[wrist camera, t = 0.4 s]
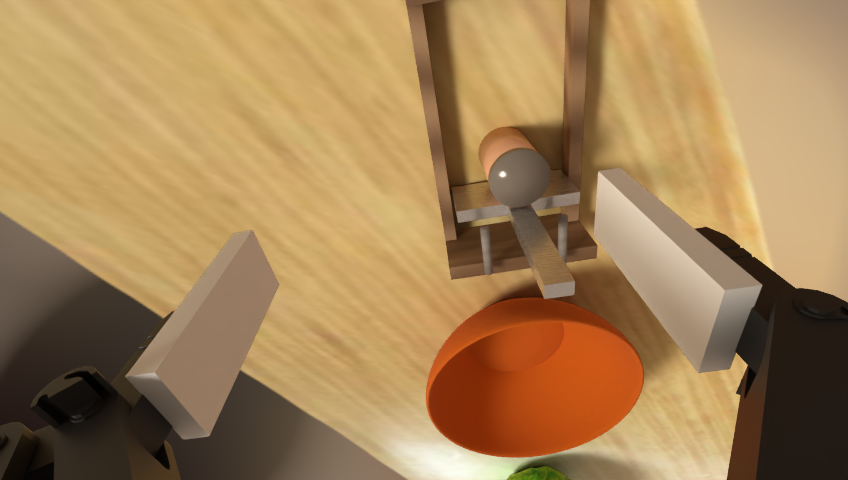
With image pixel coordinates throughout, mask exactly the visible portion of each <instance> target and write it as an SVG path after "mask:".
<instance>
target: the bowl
mask: <svg viewBox="0 0 848 480" xmlns="http://www.w3.org/2000/svg"><path fill="white" fill-rule="evenodd" d="M643 383H644V371H643V365H642V362H641V359H640V357H639V355H638V353H637V351H636V350H635V348H634V347H633V345H632V344H631V343H630V342H629V341H628V339H627V338H626V337H625V336H624V335H623V334H622V333H621V332H620V331H618V330H617V329H616V328H615V327H614V326H612V325H611V324H610V323H608V322H607V321H606V320H604V319H602V318H601V317H599V316H598V315H596V314H594V313H592V312H590V311H588V310H586V309H584V308H581V307H579V306H576V305H573V304H570V303H567V302H563V301H559V300H553V299H544V298H514V299H508V300H504V301H500V302H497V303H495V304H493V305H490V306H488V307H487V308H484V309H483V310H481V311H479V312H477V313H476V314H474V315H473V316H471V317H470V318H468V319H467V320H466V321H465V322H463V323H462V324H461V325H460V326H459V327H458V328H457V329H456V330H455V331H454V332H453V333H452V334H451V335H450V337H449V338H448V339H447V340H446V342H445V343H444V345H443V346H442V348H441V349H440V351H439V353H438V355H437V357H436V358H435V361H434V363H433V366H432V368H431V371H430V374H429V378H428V382H427V389H426V405H427V410H428V413H429V416H430V418H431V420H432V422H433V424H434V425H435V427H436V428H437V429H438V430H439V431H440V432H441V433H442V434H443V435H444V436H445V437H446V438H448V439H449V440H450V441H452V442H454V443H455V444H457V445H459V446H461V447H463V448H466V449H468V450H471V451H474V452H477V453H481V454H486V455H491V456H498V457H533V456H541V455H547V454H552V453H557V452H561V451H564V450H568V449H571V448H574V447H577V446H579V445H582V444H584V443H587V442H589V441H591V440H593V439H595V438H597V437H598V436H600V435H602V434H604V433H605V432H607V431H608V430H610V429H611V428H612V427H614V426H615V425H616V424H618V423H619V422H620V421H621V420H622V419H623V418H624V417H625V416H626V415H627V414H628V413H629V412H630V410H631V409H632V408H633V406H634V405H635V403H636V402H637V400H638V398H639V396H640V393H641V391H642V387H643Z"/></svg>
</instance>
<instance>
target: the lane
mask: <svg viewBox="0 0 848 480" xmlns="http://www.w3.org/2000/svg"><path fill="white" fill-rule="evenodd" d="M436 1H441V0H406V5H407V10H408V16H409V22H410V28H411V34H412V40H413V46H414V52H415V58H416V64H417V70H418V76H419V82H420V88H421V94H422V100H423V106H424V112H425V118H426V124H427V130H428V136H429V142H430V148H431V154H432V161H433V167H434V173H435V179H436V185H437V191H438V197H439V203H440V209H441V215H442V221H443V227H444V233H445V239H446V246H447V253H448V261H449V268H450V274H451V280H453V279H460V278H466V277H473V276H480V275H491V274H493V273H500V272H507V271H513V270H520V269H527V268H531V267H530V265H529V263H528V261H527V258H526V256H525V254H524V251H523V249H522V247H521V245H520V242H519V240H518V238H517V235H516V233H515V231H514V229H513V226H512V224H511V222H510V221H509V222H503V223H496V224H490V225H484V226H477V227H471V228H465V229H458V230H455V225H454V218H453V211H452V204H451V198H450V191H449V184H448V177H447V170H446V164H445V157H444V150H443V143H442V137H441V130H440V123H439V116H438V109H437V103H436V96H435V89H434V82H433V76H432V69H431V62H430V55H429V48H428V42H427V35H426V28H425V21H424V14H423V8H422V4H426V3H431V2H436ZM589 10H590V0H566V31H565V73H564V114H563V155H562V172H563V173H564V174H565V175H566V176H567V177H568V179H569V180H570V181H571V182H572V183H573V184H574V185H575V187H576V188H577V189H578V190H579V191H580V182H581V163H582V143H583V124H584V105H585V86H586V67H587V48H588V29H589ZM538 218H539V219H540V221H541V223H542V225H543V226H544V228H545V230H546V231H547V233H548V235H549V237H550V238H551V240H552V242H553V244H554V245H555V247H556V249H557V251H558V252H559V254H560V256H561V257H562V259H563V261H564V263H567V262H574V261H581V260H587V259H594V258H596V257H597V244H596V243H595V242H594V240H593V239H592V238H591V236H590V235H589V234H588V232H587V231H586V230H585V228H584V227H583V226H582V224H581V223H580V222H579V204H573V205H567V206H561V213H560V214H553V215H547V216H541V217H538Z"/></svg>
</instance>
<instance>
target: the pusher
mask: <svg viewBox="0 0 848 480" xmlns="http://www.w3.org/2000/svg"><path fill="white" fill-rule="evenodd" d="M452 194H453V200H454V205H455V210H456V215H457V220H458V223H460V222H466V221H473V220H479V219H485V218H492V217H498V216H504V215H508V217H509V219H510V222H511V224H512V226H513V229H514V231H515V233H516V235H517V238H518V240H519V242H520V245H521V247H522V249H523V251H524V254H525V256H526V258H527V261H528V263H529V265H530V267H531V270H532V272H533V274H534V276H535V279H536V281H537V283H538V286H539V288H540V290H541V292H542V295H543V297H544V299H549V298H556V297H563V296H570V295H574V292H575V280H574V278H573V277H572V275H571V273H570V271H569V270H568V268H567V266H566V264H565V263H564V261H563V259H562V257H561V256H560V254H559V252H558V251H557V249H556V247H555V245H554V244H553V242H552V240H551V238H550V237H549V235H548V233H547V231H546V230H545V228H544V226H543V225H542V223H541V221H540V219H539V218H538V216H537V214H536V212H535V211H536V210H542V209H548V208H554V207H561V206H567V205H573V204H580V191H579V190H578V189H577V188H576V187H575V185H574V184H573V183H572V182H571V181H570V180H569V179H568V177H567V176H566V175H565V174H564V173H563V172H562V171H561V169H560V170H554V171H551V178H550V183H549V186H548V188H547V190H546V191H545V193H544V194H543V195H542V196H541V197H540V198H539V199H538V200H536V201H535V202H533V203H531V204H529V205H526V206H523V207H509V206H506V205H503V204H502V203H500V202H499V201H497V200H496V199H495V197H494V196H493V194H492V192H491V190H490V187H489V183H488V182H482V183H476V184H470V185H463V186H457V187H452Z"/></svg>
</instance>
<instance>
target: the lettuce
mask: <svg viewBox="0 0 848 480" xmlns="http://www.w3.org/2000/svg"><path fill="white" fill-rule="evenodd" d="M507 480H570V479H569V478H568V477H566V476H565V475H564V474H562V473H561V472H559V471H557V470H555V469H553V468H551V467H549V466H547V465H546V466H542V467H538V468H529V469H526V470H524V471H521V472H519V473H516V474H513V475H510V476H509V478H508V479H507Z"/></svg>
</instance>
